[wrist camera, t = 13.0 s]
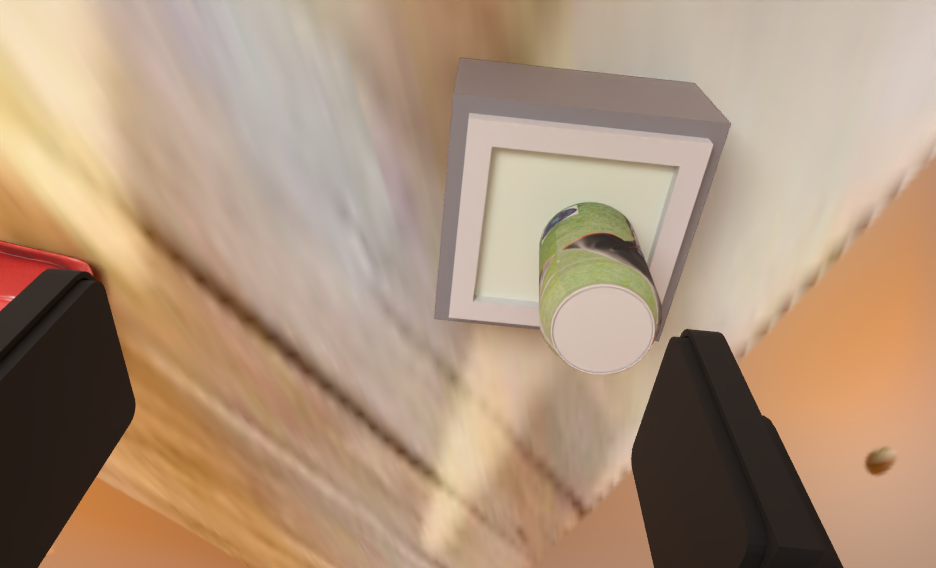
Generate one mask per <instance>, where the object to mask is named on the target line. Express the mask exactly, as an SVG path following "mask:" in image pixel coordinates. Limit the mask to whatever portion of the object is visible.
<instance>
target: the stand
mask: <svg viewBox="0 0 936 568" xmlns="http://www.w3.org/2000/svg"><path fill="white" fill-rule="evenodd" d="M730 125H731V123H730V122H729V121H728V120H727V118H726V117H725V116H724V115H723V114H722V113H721V112H720V111H719V109H718V108H717V107H716V106H715V105H714V104H713V103H712V102H711V101H710V99H709V98H708V97H707V96H706V95H705V94H704V93H703V92H702V91H701V89H700V88H699V87H698V86H697V85H696V84H695V83H688V82H679V81H670V80H661V79H652V78H642V77H633V76H624V75H615V74H606V73H596V72H587V71H578V70H569V69H560V68H550V67H541V66H532V65H523V64H514V63H504V62H495V61H486V60H477V59H468V58H460V59H459V65H458V70H457V76H456V82H455V87H454V93H453V103H452V115H451V127H450V139H449V151H448V163H447V174H446V186H445V198H444V210H443V222H442V234H441V246H440V257H439V269H438V281H437V293H436V305H435V317H434V319H438V320H448V321H458V322H468V323H479V324H489V325H499V326H509V327H519V328H529V329H539V330H541V329H540V324H539V243H540V239H541V235H542V233H543V230H544V228H545V227H546V225H547V223H548V222H549V221H550V220H551V219H552V218H553V217H554V215H556V214H557V213H558V212H560V211H561V210H563V209H565V208H567V207H569V206H571V205H574V204H577V203H584V202H596V203H602V204H605V205H608V206H611V207H613V208H615V209H616V210H618V211H619V212H621V213H622V214H623V215H624V216H625V217H626V218H627V219H628V220H629V222H630V223H631V225H632V227H633V229H634V231H635V234H636V236H637V239H638V242H639V244H640V247H641V249H642V252H643V255H644V257H645V260H646V263H647V265H648V268H649V271H650V273H651V276H652V279H653V281H654V284H655V287H656V289H657V292H658V295H659V298H660V301H661V305H662V322H661V327H660V330H659V333H658V335H657V337H656V339H655V341H659V339H660V336H661V333H662V330H663V327H664V324H665V321H666V318H667V315H668V312H669V309H670V306H671V303H672V300H673V297H674V294H675V291H676V288H677V285H678V282H679V279H680V276H681V273H682V270H683V267H684V264H685V261H686V258H687V255H688V252H689V249H690V246H691V243H692V240H693V237H694V234H695V231H696V228H697V225H698V222H699V219H700V216H701V213H702V210H703V207H704V204H705V200H706V197H707V194H708V191H709V188H710V185H711V182H712V179H713V176H714V173H715V170H716V167H717V164H718V161H719V158H720V155H721V152H722V149H723V146H724V143H725V140H726V137H727V134H728V131H729V128H730Z"/></svg>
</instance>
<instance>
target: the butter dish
mask: <svg viewBox="0 0 936 568" xmlns="http://www.w3.org/2000/svg"><path fill="white" fill-rule="evenodd" d="M50 268H57V269H67V270H78V271H86V272H89V273H91V274H92V276H93V272H92V269H91V268H90V266H89V265H88V264H87V263H86V262H84V261H81V260H78V259H76V258H72V257H69V256H64V255H60V254H55V253H51V252H46V251H41V250H37V249H33V248H28V247H24V246H20V245H15V244H12V243H7V242H3V241H0V311H1V310H2V309H3V308H4V307H5V306H6V305H7V304H8V303H9V302H11V301H12V300H13V299H14V298H15V297H16V296H17V295H18V294H19V293H20V292H21V291H22V290H24V289H25V288H26V287H27V286H28V285H29V284H30V283H31V282H32V281H33V280H34V279H35V278H37V277H38V276H39V275H40V274H41V273H42V272H43V271H45V270H46V269H50ZM93 277H94V276H93Z"/></svg>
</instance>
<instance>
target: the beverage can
mask: <svg viewBox="0 0 936 568" xmlns="http://www.w3.org/2000/svg"><path fill="white" fill-rule="evenodd" d="M661 322H662V305H661V301H660V298H659V295H658V292H657V289H656V287H655V284H654V281H653V279H652V276H651V273H650V271H649V268H648V265H647V263H646V260H645V257H644V255H643V252H642V249H641V247H640V244H639V242H638V239H637V236H636V234H635V231H634V229H633V227H632V225H631V223H630V222H629V220H628V219H627V218H626V217H625V216H624V215H623V214H622V213H621V212H619V211H618V210H616V209H615V208H613V207H611V206H608V205H605V204H602V203H596V202H584V203H577V204H574V205H571V206H569V207H567V208H565V209H563V210H561V211H560V212H558V213H557V214H556V215H554V217H553V218H552V219H551V220H550V221H549V222H548V223H547V225H546V227H545V228H544V230H543V233H542V235H541V239H540V243H539V324H540V329H541V332H542V335H543V337H544V339H545V341H546V343H547V344H548V346H549V347H550V348H551V349H552V351H553V352H554V353H555V354H556V355H557V356H559V357H560V358H561V359H563V360H564V361H565V362H566V363H567V364H569V365H570V366H571V367H573V368H575V369H577V370H579V371H582V372H585V373H590V374H596V375H606V374H613V373H617V372H621V371H623V370H626V369H628V368H630V367H631V366H633V365H635V364H636V363H637V362H639V361H640V360H641V359H642V358H643V357H644V356H645V354H646V353H647V352H648V350H649V348H650V347H651V345H652V344H653V343H654V341H655V339H656V337H657V335H658V333H659V330H660V327H661Z"/></svg>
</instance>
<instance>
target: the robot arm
mask: <svg viewBox="0 0 936 568" xmlns="http://www.w3.org/2000/svg"><path fill="white" fill-rule="evenodd" d="M134 413H135V398H134V394H133V391H132V387H131V383H130V379H129V376H128V372H127V368H126V365H125V361H124V357H123V353H122V350H121V346H120V342H119V339H118V335H117V331H116V328H115V324H114V320H113V316H112V313H111V309H110V305H109V302H108V298H107V294H106V290H105V288H104V285H103V284H102V283H101V282H98V281H95V279H94V277H93V276H92V274H91V273H89V272H86V271H78V270H67V269H57V268H50V269H46V270H45V271H43V272H42V273H41V274H40V275H39V276H38V277H37V278H35V279H34V280H33V281H32V282H31V283H30V284H29V285H28V286H27V287H26V288H25V289H24V290H22V291H21V292H20V293H19V294H18V295H17V296H16V297H15V298H14V299H13V300H12V301H11V302H9V303H8V304H7V305H6V306H5V307H4V308H3V309H2V310H1V311H0V568H38V567H39V565H40V563H41V562H42V560H43V558H44V557H45V556H46V554H47V552H48V551H49V549H50V548H51V546H52V545H53V543H54V542H55V540H56V538H57V537H58V535H59V534H60V532H61V531H62V529H63V527H64V526H65V524H66V523H67V521H68V520H69V518H70V517H71V515H72V514H73V512H74V510H75V509H76V507H77V506H78V504H79V503H80V501H81V499H82V498H83V496H84V495H85V493H86V492H87V490H88V488H89V487H90V485H91V484H92V482H93V481H94V479H95V478H96V476H97V475H98V473H99V471H100V470H101V468H102V467H103V465H104V464H105V462H106V461H107V459H108V457H109V456H110V454H111V453H112V451H113V450H114V448H115V446H116V445H117V443H118V442H119V440H120V439H121V437H122V436H123V434H124V432H125V431H126V429H127V428H128V426H129V425H130V423H131V421H132V419H133V416H134ZM631 462H632V470H633V474H634V479H635V483H636V488H637V492H638V497H639V501H640V506H641V510H642V515H643V519H644V524H645V528H646V533H647V537H648V542H649V546H650V551H651V556H652V560H653V564H654V568H843V566H842V564H841V562H840V560H839V558H838V556H837V553H836V551H835V550H834V547H833V545H832V544H831V541H830V539H829V537H828V535H827V533H826V531H825V529H824V527H823V525H822V523H821V521H820V519H819V517H818V515H817V513H816V510H815V508H814V506H813V504H812V502H811V500H810V498H809V496H808V494H807V492H806V490H805V488H804V486H803V484H802V482H801V480H800V478H799V475H798V474H797V471H796V469H795V467H794V465H793V463H792V461H791V459H790V457H789V455H788V453H787V451H786V449H785V447H784V445H783V443H782V441H781V439H780V437H779V434H778V432H777V430H776V428H775V427H774V425H773V424H772V422H771V421H770V420H769V419H768V418H766V417H765V416H762V415H761V413H760V411H759V409H758V406H757V404H756V402H755V400H754V398H753V396H752V394H751V392H750V390H749V388H748V385H747V383H746V381H745V379H744V377H743V375H742V373H741V371H740V368H739V366H738V364H737V362H736V360H735V358H734V356H733V354H732V352H731V349H730V347H729V345H728V343H727V341H726V339H725V337H724V336H723V334H722V333H719V332H711V331H701V330H690V329H686V330H684V331H683V332H682V334H681V336H680V337H672V338H671V339H670V341H669V343H668V346H667V348H666V351H665V354H664V357H663V360H662V363H661V366H660V369H659V372H658V375H657V378H656V381H655V383H654V386H653V389H652V392H651V395H650V398H649V401H648V404H647V407H646V410H645V413H644V415H643V418H642V421H641V424H640V427H639V430H638V433H637V436H636V439H635V442H634V445H633V448H632V457H631Z"/></svg>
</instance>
